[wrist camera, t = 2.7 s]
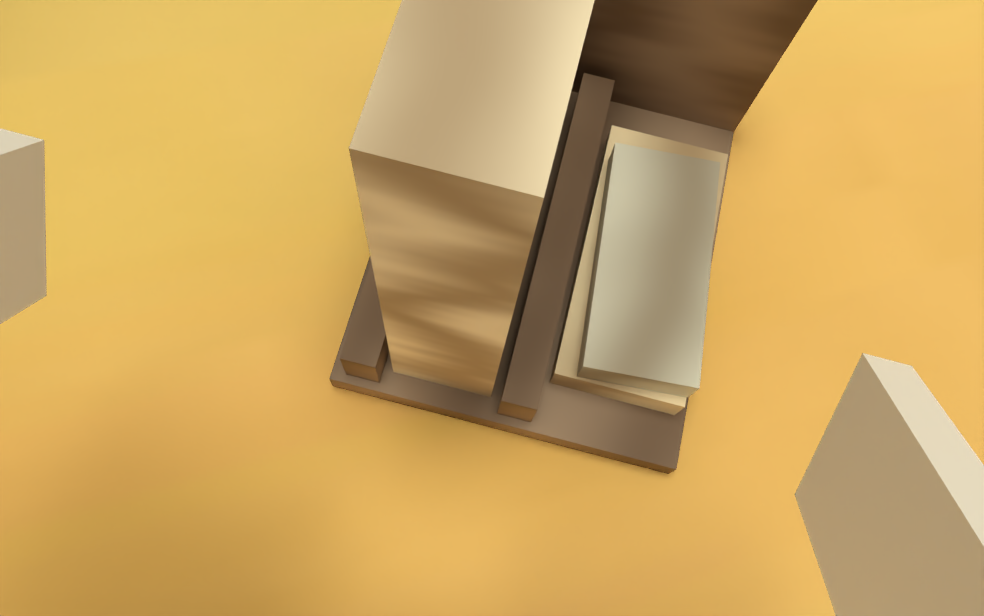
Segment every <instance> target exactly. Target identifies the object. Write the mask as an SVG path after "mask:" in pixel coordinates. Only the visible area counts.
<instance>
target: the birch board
mask: <svg viewBox="0 0 984 616" xmlns="http://www.w3.org/2000/svg"><path fill="white" fill-rule="evenodd" d="M594 1H595V0H402V2H401V5H400V7H399V10H398V13H397V16H396V19H395V21H394V24H393V27H392V30H391V32H390V35H389V38H388V41H387V44H386V46H385V49H384V52H383V55H382V58H381V60H380V63H379V66H378V69H377V71H376V74H375V77H374V80H373V83H372V85H371V88H370V91H369V94H368V96H367V99H366V102H365V105H364V108H363V110H362V113H361V116H360V119H359V122H358V124H357V127H356V130H355V133H354V135H353V138H352V141H351V144H350V147H349V151H350V156H351V161H352V166H353V171H354V176H355V181H356V186H357V191H358V196H359V202H360V207H361V212H362V217H363V222H364V227H365V232H366V237H367V242H368V247H369V252H370V257H371V262H372V267H373V272H374V277H375V282H376V287H377V292H378V297H379V302H380V307H381V312H382V317H383V322H384V327H385V332H386V338H387V343H388V348H389V353H390V358H391V363H392V368H393V372H395V373H399V374H403V375H407V376H411V377H414V378H418V379H422V380H426V381H430V382H434V383H438V384H441V385H445V386H449V387H453V388H457V389H461V390H464V391H468V392H472V393H476V394H480V395H484V396H487V397H491V394H492V391H493V387H494V383H495V379H496V376H497V372H498V368H499V364H500V361H501V357H502V353H503V349H504V346H505V342H506V338H507V334H508V331H509V327H510V323H511V319H512V316H513V312H514V308H515V304H516V301H517V297H518V293H519V289H520V286H521V282H522V278H523V274H524V271H525V267H526V263H527V259H528V256H529V252H530V248H531V244H532V241H533V237H534V233H535V229H536V226H537V222H538V218H539V214H540V211H541V207H542V203H543V199H544V196H545V192H546V188H547V184H548V180H549V176H550V172H551V168H552V164H553V160H554V157H555V153H556V149H557V145H558V141H559V137H560V133H561V129H562V125H563V121H564V118H565V114H566V110H567V106H568V102H569V98H570V94H571V90H572V86H573V82H574V79H575V75H576V71H577V67H578V63H579V59H580V55H581V51H582V47H583V43H584V40H585V36H586V32H587V28H588V24H589V20H590V16H591V12H592V8H593V4H594Z"/></svg>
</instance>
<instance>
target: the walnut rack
mask: <svg viewBox="0 0 984 616" xmlns="http://www.w3.org/2000/svg"><path fill="white" fill-rule="evenodd" d="M816 2H817V0H595V1H594V4H593V8H592V12H591V16H590V20H589V24H588V28H587V32H586V36H585V40H584V43H583V47H582V51H581V55H580V59H579V63H578V67H577V71H576V75H575V79H574V82H573V86H572V90H571V94H570V98H569V102H568V106H567V110H566V114H565V118H564V121H563V125H562V129H561V133H560V137H559V141H558V145H557V149H556V153H555V157H554V160H553V164H552V168H551V172H550V176H549V180H548V184H547V188H546V192H545V196H544V199H543V203H542V207H541V211H540V214H539V218H538V222H537V226H536V229H535V233H534V237H533V241H532V244H531V248H530V252H529V256H528V259H527V263H526V267H525V271H524V274H523V278H522V282H521V286H520V289H519V293H518V297H517V301H516V304H515V308H514V312H513V316H512V319H511V323H510V327H509V331H508V334H507V338H506V342H505V346H504V349H503V353H502V357H501V361H500V364H499V368H498V372H497V376H496V379H495V383H494V387H493V391H492V394H491V397H487V396H484V395H480V394H476V393H472V392H468V391H464V390H461V389H457V388H453V387H449V386H445V385H441V384H438V383H434V382H430V381H426V380H422V379H418V378H414V377H411V376H407V375H403V374H399V373H395V372H393V368H392V363H391V358H390V353H389V348H388V343H387V338H386V332H385V327H384V322H383V317H382V312H381V307H380V302H379V297H378V292H377V287H376V282H375V277H374V272H373V267H372V262H371V257H370V258H369V261H368V264H367V267H366V270H365V273H364V276H363V279H362V282H361V285H360V288H359V291H358V294H357V297H356V300H355V303H354V306H353V309H352V312H351V315H350V318H349V321H348V324H347V327H346V330H345V333H344V336H343V339H342V342H341V345H340V348H339V351H338V354H337V357H336V360H335V363H334V367H333V370H332V373H331V376H330V381H331V383H332V385H333V386H336V387H340V388H343V389H347V390H351V391H355V392H359V393H362V394H366V395H370V396H374V397H378V398H382V399H385V400H389V401H393V402H397V403H401V404H405V405H408V406H412V407H416V408H420V409H424V410H427V411H431V412H435V413H439V414H443V415H447V416H450V417H454V418H458V419H462V420H466V421H469V422H473V423H477V424H481V425H485V426H489V427H492V428H496V429H500V430H504V431H508V432H512V433H515V434H519V435H523V436H527V437H531V438H534V439H538V440H542V441H546V442H550V443H554V444H557V445H561V446H565V447H569V448H573V449H576V450H580V451H584V452H588V453H592V454H596V455H599V456H603V457H607V458H611V459H615V460H619V461H622V462H626V463H630V464H634V465H638V466H641V467H645V468H649V469H653V470H657V471H661V472H664V473H668V474H669V473H670V472H672V471H674V470H676V468H677V462H678V456H679V450H680V444H681V438H682V433H683V427H684V421H685V415H686V409H687V403H688V398H686V404H685V407H684V408H683V409H682V410H681V411H679V412H678V413H677V414H675V415H671V414H668V413H664V412H660V411H656V410H652V409H648V408H645V407H641V406H637V405H633V404H629V403H625V402H621V401H618V400H614V399H610V398H606V397H602V396H598V395H594V394H591V393H587V392H583V391H579V390H575V389H571V388H568V387H564V386H560V385H556V384H552V383H549V382H550V378H551V374H552V370H553V365H554V361H555V357H556V352H557V348H558V344H559V339H560V335H561V331H562V327H563V322H564V318H565V314H566V309H567V305H568V301H569V297H570V292H571V288H572V284H573V279H574V275H575V271H576V266H577V262H578V258H579V254H580V249H581V245H582V241H583V236H584V232H585V228H586V224H587V219H588V215H589V211H590V206H591V202H592V198H593V193H594V189H595V185H596V181H597V176H598V172H599V168H600V163H601V159H602V155H603V151H604V146H605V142H606V140H607V137H608V134H609V132H610V129H611V126H612V125H613V126H617V127H621V128H625V129H629V130H633V131H637V132H641V133H645V134H649V135H653V136H657V137H661V138H665V139H669V140H673V141H677V142H681V143H685V144H689V145H693V146H697V147H701V148H704V149H708V150H712V151H716V152H720V153H724V154H728V158H727V164H726V170H725V176H724V181H723V187H722V193H721V199H720V205H719V211H718V217H717V222H716V228H715V234H714V240H713V247H712V256H713V250H714V244H715V238H716V233H717V227H718V221H719V215H720V209H721V203H722V197H723V191H724V185H725V180H726V174H727V168H728V162H729V156H730V150H731V144H732V138H733V132H734V131H735V129H736V127H737V126H738V124H739V123H740V121H741V120H742V118H743V116H744V115H745V113H746V112H747V110H748V109H749V107H750V105H751V104H752V102H753V101H754V99H755V98H756V96H757V94H758V93H759V91H760V90H761V88H762V87H763V85H764V83H765V82H766V80H767V79H768V77H769V76H770V74H771V73H772V71H773V69H774V68H775V66H776V65H777V63H778V62H779V60H780V58H781V57H782V55H783V54H784V52H785V51H786V49H787V47H788V46H789V44H790V43H791V41H792V40H793V38H794V36H795V35H796V33H797V32H798V30H799V29H800V27H801V25H802V24H803V22H804V21H805V19H806V18H807V16H808V15H809V13H810V11H811V10H812V8H813V7H814V5H815V4H816ZM711 262H712V257H711Z"/></svg>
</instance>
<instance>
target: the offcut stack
mask: <svg viewBox="0 0 984 616" xmlns="http://www.w3.org/2000/svg"><path fill="white" fill-rule="evenodd" d="M727 158H728V154H724V153H720V152H716V151H712V150H708V149H704V148H701V147H697V146H693V145H689V144H685V143H681V142H677V141H673V140H669V139H665V138H661V137H657V136H653V135H649V134H645V133H641V132H637V131H633V130H629V129H625V128H621V127H617V126H613V125H612V126H611V129H610V132H609V134H608V137H607V140H606V142H605V146H604V151H603V155H602V159H601V163H600V168H599V172H598V176H597V181H596V185H595V189H594V193H593V198H592V202H591V206H590V211H589V215H588V219H587V224H586V228H585V232H584V236H583V241H582V245H581V249H580V254H579V258H578V262H577V266H576V271H575V275H574V279H573V284H572V288H571V292H570V297H569V301H568V305H567V309H566V314H565V318H564V322H563V327H562V331H561V335H560V339H559V344H558V348H557V352H556V357H555V361H554V365H553V370H552V374H551V378H550V382H549V383H552V384H556V385H560V386H564V387H568V388H571V389H575V390H579V391H583V392H587V393H591V394H594V395H598V396H602V397H606V398H610V399H614V400H618V401H621V402H625V403H629V404H633V405H637V406H641V407H645V408H648V409H652V410H656V411H660V412H664V413H668V414H671V415H675V414H677V413H678V412H679V411H681V410H682V409H683V408H684V407H685V404H686V398H688V397H689V396H690V395H692V394H693V393H694V392H696V391H697V390H698V389H699V388H700V377H701V366H702V356H703V345H704V334H705V323H706V312H707V301H708V290H709V279H710V268H711V257H712V247H713V240H714V234H715V228H716V222H717V217H718V211H719V205H720V199H721V193H722V187H723V181H724V176H725V170H726V164H727Z"/></svg>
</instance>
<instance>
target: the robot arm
mask: <svg viewBox="0 0 984 616" xmlns="http://www.w3.org/2000/svg"><path fill="white" fill-rule="evenodd" d="M45 296H46V231H45V163H44V140H42V139H39V138H35V137H31V136H27V135H23V134H19V133H16V132H12V131H8V130H4V129H0V324H1V323H3V322H4V321H6V320H8V319H9V318H11V317H13V316H14V315H16V314H17V313H19V312H21V311H22V310H24V309H25V308H27V307H29V306H30V305H32V304H34V303H35V302H37V301H38V300H40V299H42V298H43V297H45ZM795 497H796V500H797V503H798V506H799V509H800V512H801V515H802V517H803V520H804V523H805V526H806V529H807V532H808V535H809V538H810V541H811V544H812V547H813V550H814V553H815V556H816V559H817V562H818V565H819V567H820V570H821V573H822V576H823V579H824V582H825V585H826V588H827V591H828V594H829V597H830V600H831V603H832V606H833V609H834V612H835V615H836V616H984V465H983V463H982V462H981V461H980V459H979V458H978V456H977V455H976V454H975V452H974V451H973V450H972V448H971V447H970V445H969V444H968V443H967V441H966V440H965V439H964V437H963V436H962V434H961V433H960V432H959V430H958V429H957V428H956V426H955V425H954V423H953V422H952V421H951V419H950V418H949V416H948V415H947V414H946V412H945V411H944V410H943V408H942V407H941V405H940V404H939V403H938V401H937V400H936V399H935V397H934V396H933V394H932V393H931V392H930V390H929V389H928V388H927V386H926V385H925V383H924V382H923V381H922V379H921V378H920V376H919V375H918V374H917V372H916V371H915V370H914V368H913V367H912V366H910V365H906V364H902V363H899V362H895V361H891V360H887V359H883V358H879V357H876V356H872V355H868V354H864V353H863V354H862V356H861V358H860V360H859V362H858V364H857V366H856V368H855V370H854V372H853V374H852V376H851V378H850V381H849V383H848V385H847V387H846V389H845V391H844V393H843V395H842V397H841V399H840V401H839V403H838V405H837V408H836V410H835V412H834V414H833V416H832V418H831V420H830V422H829V424H828V426H827V428H826V430H825V432H824V435H823V437H822V439H821V441H820V443H819V445H818V447H817V449H816V451H815V453H814V455H813V457H812V459H811V462H810V464H809V466H808V468H807V470H806V472H805V474H804V476H803V478H802V480H801V482H800V484H799V486H798V489H797V491H796V493H795Z"/></svg>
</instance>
